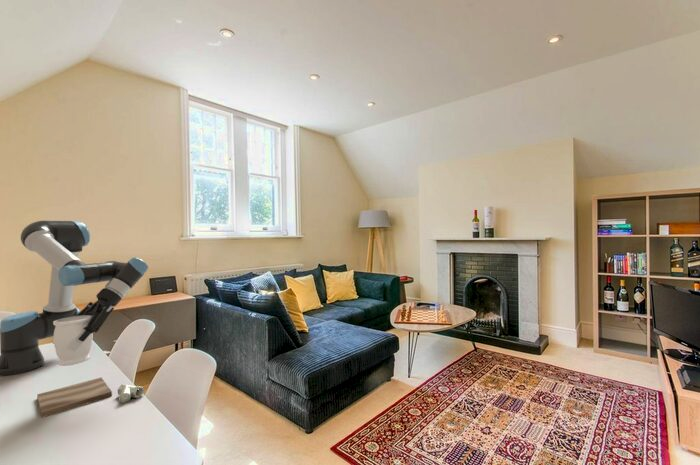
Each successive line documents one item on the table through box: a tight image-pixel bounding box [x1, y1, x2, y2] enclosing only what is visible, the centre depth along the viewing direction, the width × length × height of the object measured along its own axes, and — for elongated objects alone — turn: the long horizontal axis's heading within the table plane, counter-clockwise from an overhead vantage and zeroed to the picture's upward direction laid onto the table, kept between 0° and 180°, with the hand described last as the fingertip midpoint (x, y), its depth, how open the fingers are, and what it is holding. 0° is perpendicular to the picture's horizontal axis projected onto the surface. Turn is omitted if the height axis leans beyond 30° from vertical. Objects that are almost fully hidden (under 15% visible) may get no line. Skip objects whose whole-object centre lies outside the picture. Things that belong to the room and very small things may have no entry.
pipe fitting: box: [117, 383, 145, 404], centre depth 114 cm, size 8×4×7 cm
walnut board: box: [36, 377, 113, 418], centre depth 115 cm, size 18×18×2 cm
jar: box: [53, 315, 94, 367], centre depth 116 cm, size 11×10×15 cm
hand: (63, 347), depth 113 cm, fingers closed on jar, 10 cm apart
